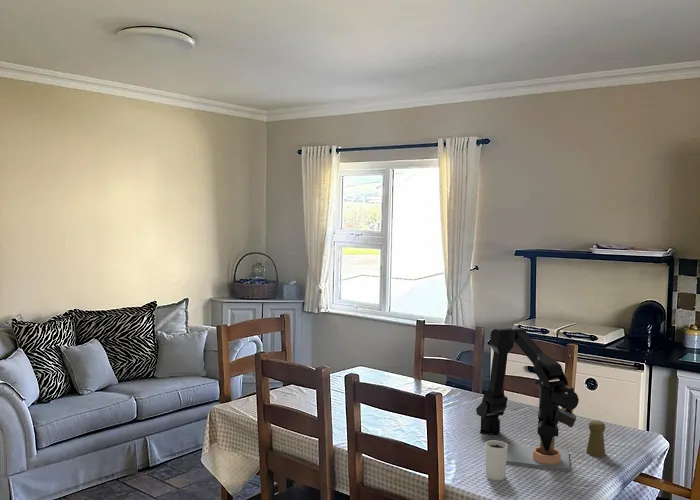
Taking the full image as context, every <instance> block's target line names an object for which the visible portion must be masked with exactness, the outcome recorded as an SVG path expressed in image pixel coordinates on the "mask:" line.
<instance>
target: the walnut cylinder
mask: <svg viewBox="0 0 700 500" xmlns="http://www.w3.org/2000/svg"><path fill="white" fill-rule="evenodd" d="M555 438H556V437H555V436H554V437H552V441H551V444H550V448H549V451H545V449H544V446H543V443H542V441H541V438H540V437H539V439H540V441H539V442H540V443H539V446H540V454H542V455H551V456H552V455H554V448H555Z"/></svg>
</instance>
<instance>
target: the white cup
mask: <svg viewBox="0 0 700 500" xmlns="http://www.w3.org/2000/svg"><path fill="white" fill-rule="evenodd" d="M484 448H485V476H486V477H487V478H488V479H489V480H493V481H503V480H505V479H506V474H507V473H506V472H507V471H506V470H507V464H506V461H507V448H508V445H507V443H506V442H504V441H502V440H501V441H500V440H495V439H492V440H487V441H486V442H485V447H484Z"/></svg>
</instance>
